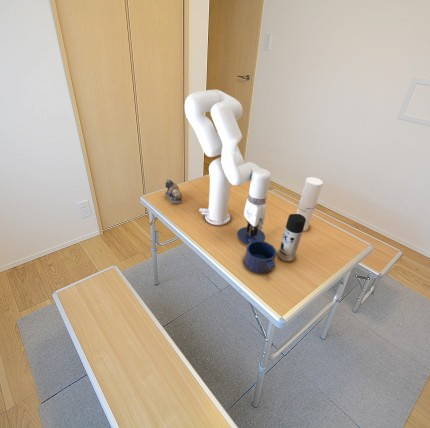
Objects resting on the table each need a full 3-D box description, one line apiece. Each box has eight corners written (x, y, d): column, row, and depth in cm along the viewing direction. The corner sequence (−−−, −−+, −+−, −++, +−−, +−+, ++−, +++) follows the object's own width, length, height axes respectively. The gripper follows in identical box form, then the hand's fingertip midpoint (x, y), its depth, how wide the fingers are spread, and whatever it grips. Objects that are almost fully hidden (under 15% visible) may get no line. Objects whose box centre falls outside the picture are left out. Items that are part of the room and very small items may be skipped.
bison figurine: (185, 203, 148) (185, 186, 142) (173, 207, 144) (173, 190, 139) (173, 193, 156) (172, 177, 150) (162, 197, 152) (161, 180, 146)
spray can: (276, 250, 120) (286, 212, 109) (291, 250, 121) (302, 212, 110) (280, 261, 115) (291, 223, 104) (296, 261, 116) (309, 222, 104)
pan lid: (245, 248, 120) (247, 235, 116) (232, 231, 129) (234, 218, 125) (270, 242, 124) (272, 229, 120) (256, 226, 133) (258, 214, 129)
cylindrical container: (308, 231, 133) (323, 185, 119) (293, 229, 134) (306, 183, 120) (307, 223, 139) (321, 178, 125) (292, 220, 140) (305, 176, 126)
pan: (256, 281, 105) (259, 268, 101) (236, 252, 118) (238, 239, 114) (282, 274, 109) (286, 261, 105) (260, 246, 122) (263, 234, 118)
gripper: (240, 190, 120) (236, 224, 130) (259, 210, 108) (252, 246, 118) (255, 187, 122) (250, 221, 133) (275, 207, 110) (268, 242, 120)
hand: (251, 233), depth 125 cm, fingers closed on pan lid, 2 cm apart
